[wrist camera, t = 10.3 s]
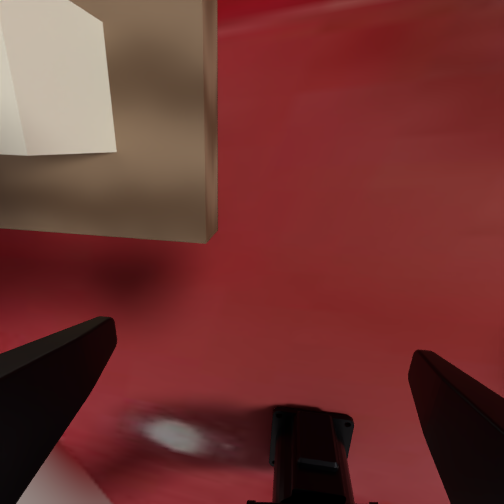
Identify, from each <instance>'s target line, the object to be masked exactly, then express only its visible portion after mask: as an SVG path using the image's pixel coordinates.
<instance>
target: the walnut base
mask: <svg viewBox="0 0 504 504" xmlns="http://www.w3.org/2000/svg"><path fill="white" fill-rule="evenodd" d="M69 1H71V2H72V3H74V4H75V5H77V6H78V7H80V8H82V9H83V10H85V11H86V12H88V13H89V14H91V15H92V16H94V17H95V18H97V19H98V20H100V21H102V22H103V32H104V41H105V50H106V59H107V68H108V77H109V86H110V96H111V105H112V114H113V123H114V132H115V141H116V150H117V152H106V153H82V154H57V155H33V156H24V155H3V154H0V228H5V229H18V230H31V231H45V232H58V233H71V234H85V235H98V236H111V237H125V238H138V239H151V240H165V241H178V242H191V243H205V244H206V243H207V242H208V241H209V240H210V238H211V237H212V236H213V235H214V234H215V233H216V232H217V230H218V142H217V0H69Z"/></svg>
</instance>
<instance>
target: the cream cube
mask: <svg viewBox="0 0 504 504" xmlns="http://www.w3.org/2000/svg"><path fill="white" fill-rule="evenodd" d="M106 152H117V150H116V141H115V132H114V123H113V114H112V105H111V96H110V86H109V77H108V68H107V59H106V50H105V41H104V32H103V22H102V21H100V20H98V19H97V18H95V17H94V16H92V15H91V14H89V13H88V12H86V11H85V10H83V9H82V8H80V7H78V6H77V5H75V4H74V3H72V2H71V1H69V0H0V154H3V155H24V156H33V155H57V154H82V153H106Z"/></svg>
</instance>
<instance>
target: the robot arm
mask: <svg viewBox="0 0 504 504" xmlns="http://www.w3.org/2000/svg"><path fill="white" fill-rule="evenodd" d="M116 344H117V336H116V328H115V322H114V319H113V318H111V317H103V316H99V317H96V318H93V319H91V320H88V321H86V322H83V323H80V324H78V325H75V326H72V327H70V328H67V329H65V330H62V331H59V332H57V333H54V334H51V335H49V336H46V337H44V338H41V339H38V340H36V341H33V342H30V343H28V344H25V345H23V346H20V347H17V348H15V349H12V350H9V351H7V352H4V353H2V354H0V504H16V503H17V501H18V500H19V498H20V497H21V495H22V494H23V492H24V491H25V489H26V488H27V486H28V485H29V484H30V482H31V480H32V479H33V478H34V476H35V474H36V473H37V472H38V470H39V469H40V467H41V466H42V464H43V463H44V461H45V460H46V458H47V457H48V455H49V454H50V452H51V451H52V449H53V448H54V446H55V445H56V443H57V442H58V441H59V439H60V438H61V436H62V435H63V433H64V432H65V430H66V429H67V427H68V426H69V424H70V423H71V421H72V420H73V418H74V417H75V415H76V414H77V412H78V411H79V409H80V408H81V406H82V405H83V403H84V402H85V401H86V399H87V397H88V396H89V394H90V393H91V391H92V389H93V388H94V386H95V384H96V383H97V381H98V379H99V377H100V375H101V373H102V371H103V370H104V368H105V366H106V364H107V362H108V360H109V359H110V357H111V355H112V353H113V351H114V349H115V347H116ZM408 380H409V384H410V388H411V392H412V395H413V399H414V402H415V406H416V409H417V413H418V417H419V420H420V424H421V427H422V430H423V434H424V437H425V439H426V442H427V445H428V447H429V450H430V452H431V455H432V457H433V460H434V462H435V465H436V467H437V470H438V473H439V475H440V478H441V480H442V483H443V485H444V488H445V490H446V493H447V495H448V498H449V500H450V503H451V504H504V398H503V397H501V396H500V395H498V394H496V393H495V392H493V391H492V390H490V389H489V388H487V387H486V386H484V385H483V384H481V383H480V382H478V381H477V380H475V379H474V378H472V377H471V376H469V375H468V374H466V373H464V372H463V371H461V370H460V369H458V368H457V367H455V366H454V365H452V364H451V363H449V362H448V361H446V360H445V359H443V358H442V357H440V356H439V355H437V354H436V353H434V352H432V351H427V350H416V351H415V352H414V354H413V357H412V361H411V365H410V369H409V373H408ZM278 413H280V414H278ZM346 422H349V423H346ZM353 428H354V422H353V419H352V417H350V416H345V415H337V414H330V413H322V412H314V411H306V410H299V409H291V408H283V407H276V408H275V409H274V410H273V420H272V432H271V445H270V457H269V463H270V465H272V466H274V480H273V499H272V502H256V501H255V500H248V501H247V504H355V502H354V497H353V491H352V485H351V480H350V474H349V468H348V463H347V458H348V453H349V448H350V443H351V438H352V433H353ZM369 504H378V502H369Z"/></svg>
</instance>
